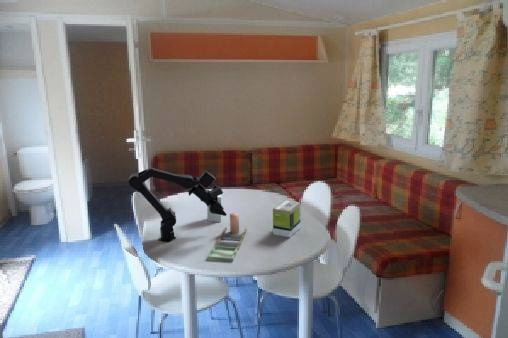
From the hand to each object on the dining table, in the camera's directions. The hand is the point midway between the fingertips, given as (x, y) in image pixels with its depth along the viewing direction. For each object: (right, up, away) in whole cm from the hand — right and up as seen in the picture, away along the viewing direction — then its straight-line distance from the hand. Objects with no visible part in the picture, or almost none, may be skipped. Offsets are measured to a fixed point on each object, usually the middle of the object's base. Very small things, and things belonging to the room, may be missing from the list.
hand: (224, 212), depth 199 cm
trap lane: (+3, -15, -10) cm, 18 cm away
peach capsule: (+5, -11, +4) cm, 13 cm away
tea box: (+33, -11, +5) cm, 35 cm away
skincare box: (-7, -7, +22) cm, 24 cm away
